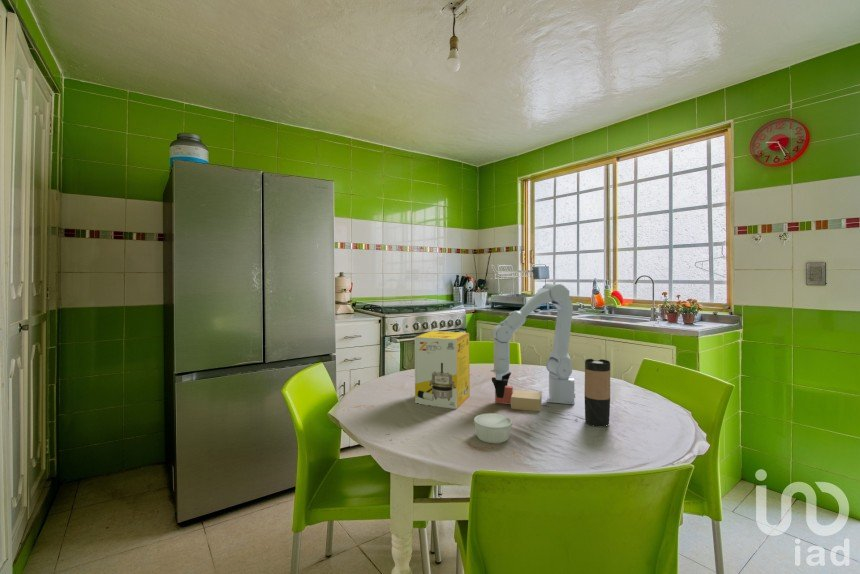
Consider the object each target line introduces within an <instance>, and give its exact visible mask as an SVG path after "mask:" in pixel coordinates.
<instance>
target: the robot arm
mask: <svg viewBox="0 0 860 574" xmlns="http://www.w3.org/2000/svg"><path fill="white" fill-rule="evenodd" d="M546 303H551V305H553V306H554V307H555V308H556V310H557V313H556V320H555V328H554V329H555V330H554V337H553V338H554V339H553V346H552V347H553V348H552V351H550V353H549V356H548V358H547V361H546V363H545V367H546V370H547V371H548V395H547V403H555V404H565V405H575V399H576V393H575V378H574V377H571V376H572V373H573V367H572V364H571V363H572V359H571V357H570V354H569V345H570V344H569V343H570V335H571V328H572V322H573V321H572V319H573V311H574V304H573V301H572V299H571V295H570V290H569V289H568V288H567V287H566V286H565V285H564V284H561V283H560V284H556V283H555V284H553V283H545V284H544V285H543V286H542V287H541V288H539V289H538V290H537V291H536V293H535V294H534V295H533V296H532V297H531V298H530V299H529V300H527V302H526V303H525V304H524V305H523V306H522V307H521V308H520V309H519V310H514V311H510V312H509V313H508V316H507V317H506V318H505V319H504V320H503V321H502V320H501V321H500V322H499V324H498V325H497V324H496V325H495V326H494V327H493V329H492V331H491V336H492V338H493V368H490V372H492V373H494V375H495V377H493V376H492V377H491V382H492V383H493V386H494V391H495V390H496V395H497V398H503V396H504V390H505V386H508V382H509V379H510V376H511V374H512V372H511V369H510V341H511V340H512V338H513V335H514V333H516V331H517V330H518V329H520V328H521V327H522V326H523V325H524V324H525V323H526V321H527V317H528V316H529V315H531V314H532V312H533V311H535V310H536V309H537V308H538V307H540V306H541V305H543V304H546Z"/></svg>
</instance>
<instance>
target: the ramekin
mask: <svg viewBox="0 0 860 574" xmlns="http://www.w3.org/2000/svg"><path fill="white" fill-rule="evenodd" d="M473 424H474V428H475V435H476V437H477V438H478V440H480V441H481V442H484V443H489V444H501V443H504V442H506V441H508V440H509V438H510V435H511V430H512V426H513V420H512V419H511V418H510V417H509V416H507V415H504V414H499V413H491V412H490V413H482V414H478V415H476V416H475V417H474V419H473Z"/></svg>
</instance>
